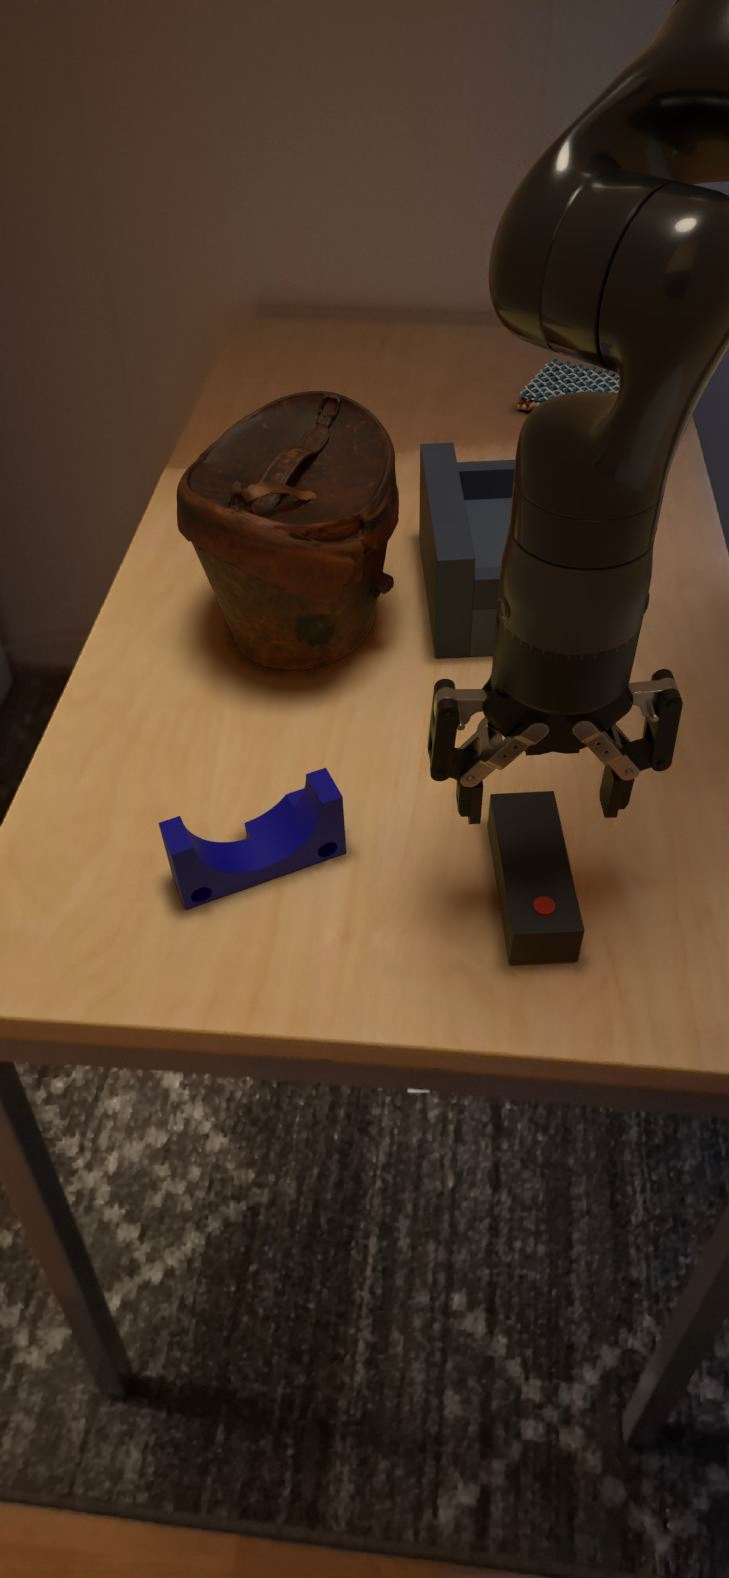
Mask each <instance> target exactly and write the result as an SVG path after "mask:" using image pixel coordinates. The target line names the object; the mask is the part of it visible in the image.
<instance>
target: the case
mask: <svg viewBox="0 0 729 1578" xmlns="http://www.w3.org/2000/svg"><path fill="white" fill-rule="evenodd" d="M399 515H400V493H399V488H398V484H397V474H396V450H395V447H394V443H393V441H392V439H391V436H390V435H389V433H388V431H387V429H386V428H385V426H384V425H383V424H382V422H381V421H380V420H379V419H378V418H377V416H376V415H375V414H374V413H373V412H371V410H369V409H368V408H366V407H365V406H364V405H362V404H361V403H360V402H358V401H356V400H354V399H352V398H350V397H348V396H346V395H343V394H340V393H337V392H333V391H327V390H309V391H308V390H307V391H301V392H294V393H290V394H288V395H284V396H281V397H279V398H277V399H274V400H272V401H270V402H268V403H265V404H264V405H262V407H260V408H257V409H256V410H254V411H253V412H250V413H249V414H247V415H245V416H244V417H243V418H241V419H239V420H238V421H236V422H235V423H234V424H233V425H232V426H230V427H229V428H228V429H226V430H225V431H224V432H223V433H222V434H221V435H220V436H219V438H217V440H215V441H214V442H212V443H211V444H210V445H208V447H206V448H205V450H204V451H203V452H201V453H200V454H199V455H198V458H196V460H194V461H193V463H192V464H190V465H189V466H188V467H187V468H186V470H185V471H184V472H183V473H182V475H181V477H180V480H179V481H178V484H177V488H176V522H177V523H176V525H177V529H178V531H179V533H180V534H181V536H182V537H184V539H186V541H188V542H190V543H191V544H192V546H193V549H194V551H195V554H196V556H197V558H198V560H199V563H200V564H201V567H202V569H203V571H204V573H205V576H206V578H207V580H208V583H209V584H210V587H211V590H212V592H213V594H214V596H215V598H216V601H217V603H218V605H219V608H220V609H221V612H222V614H223V616H224V619H225V621H226V624H227V625H228V628H229V630H230V633H231V636H232V639H233V640H234V642H235V644H236V646H237V647H238V649H239V651H241V653H242V654H243V655H244V656H245V657H247V658H248V659H250V660H251V661H252V662H254V663H256V664H258V665H260V666H264V667H266V668H270V669H275V670H307V669H314V668H319V667H323V666H325V665H329V664H330V663H333V662H335V661H337V660H339V659H341V658H343V657H345V656H347V655H348V654H350V653H351V652H352V651H354V650H355V649H356V648H357V647H358V646H360V644H362V643H363V641H364V640H365V639H366V637H367V636H368V635H369V633H370V631H371V629H372V627H373V623H374V620H375V619H374V618H375V615H376V610H377V604H378V599H379V598H380V596H381V594H382V595H386V594H388V593H389V592H390V591H391V590H392V589H393V588H394V586H395V579H394V577H393V576H392V575H391V574H388V573H386V572H384V568H385V567H384V566H385V562H386V554H387V549H388V543H389V540H390V539H391V538H392V536H393V534H394V532H395V530H396V528H397V526H398V523H399V521H400V520H399V519H400V518H399Z"/></svg>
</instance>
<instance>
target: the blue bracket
mask: <svg viewBox="0 0 729 1578" xmlns="http://www.w3.org/2000/svg"><path fill="white" fill-rule="evenodd" d="M158 827H159V832H160V834H161V838H162V842H163V846H164V849H165V853H166V857H167V861H168V863H169V864H168V865H169V868H170V872H171V876H172V879H173V882H174V884H175V887H176V889H177V892H178V895H179V897H180V899H181V903H182V905H183V907H184V909H185V911H187V910H189V909H193V908H195V907H198V906H201V905H204V904H207V903H209V902H212V901H215V900H218V899H220V898H223V897H226V896H229V895H232V894H234V893H237V892H240V891H243V890H246V889H248V888H252V887H255V886H258V885H260V884H262V883H265V882H268V881H272V880H274V879H276V878H277V879H278V878H279V877H282V876H286V875H288V874H291V873H294V872H297V871H299V870H303V869H305V868H308V867H311V866H313V865H316V864H319V863H323V862H324V861H328V860H330V859H334V858H336V857H340V856H341V855H344V854H347V842H346V841H347V840H346V828H345V827H346V826H345V812H344V797H343V794H342V793H341V791H340V790H339V787H338V786H337V784H336V782H335V780H334V779H333V777H332V776H331V773H330V772H329V771H328V769H327V767H323V768H320V769H318V770H314V771H311V772H308V773H305V784H304V787H303V788H301V789H298V790H295V791H292V792H288V793H286V794H285V795H284V796H283V797H282V798H281V799H280V800H279V801H278V802H277V803H276V804H275V805H274V806H273V807H271V808H270V809H269V810H267V811H265V812H264V813H263V814H261V815H259V816H257V817H255V818H253V819H250V820H248V821H246V822H244V829H245V830H244V831H245V835H246V838H244V839H240V840H235V841H214V840H208V839H205V838H202V837H200V836H197V835H195V834H194V833H193V832H191V831H190V830H189V829H188V828H187V826H185V824H184V821H183V819H182V816H181V815H178V816H175V817H172V818H169V819H166V820H163V821H159V822H158Z"/></svg>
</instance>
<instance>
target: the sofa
mask: <svg viewBox="0 0 729 1578" xmlns="http://www.w3.org/2000/svg"><path fill="white" fill-rule="evenodd" d="M514 468H515V459H500V460H499V459H498V460H477V461H458V460H457V453H456V449H455V444H454V442H433V443H431V442H430V443H429V442H428V443H420V445H419V511H418V514H419V515H418V516H419V519H418V521H419V522H418V523H419V524H418V525H419V527H418V530H419V531H418V534H419V535H418V541H419V547H420V549H419V550H420V555H421V564H422V571H423V579H424V587H425V593H426V602H427V610H428V617H429V624H430V633H431V641H432V649H433V655H434V659H447V658H469V657H470V658H471V657H472V658H473V657H474V658H475V657H491V656H492V657H493V651H494V639H495V628H496V615H497V603H498V592H499V580H500V569H501V561H502V556H503V551H504V548H505V544H506V540H507V536H508V531H509V524H510V514H511V503H512V492H513V481H514Z"/></svg>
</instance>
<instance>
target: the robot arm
mask: <svg viewBox="0 0 729 1578" xmlns="http://www.w3.org/2000/svg"><path fill="white" fill-rule="evenodd" d="M724 182H729V0H675V1H674V3H673V4H672V6H671V8H670V10H669V12H668V13H667V15H666V17H665V18H664V20H663V22H662V24H661V25H660V28H659V29H658V31H657V32H656V34H655V36H654V37H653V39H652V41H650V43H648V45H647V46H646V47H645V48H644V49H643V50H642V51H641V52H640V53H639V54H638V55H637V56H636V57H635V58H634V59H632V60H631V61H630V62H629V63H628V64H627V65H626V66H625V67H624V68H623V69H622V70H621V71H620V72H619V73H618V74H617V75H616V76H615V77H614V78H613V79H612V80H611V82H609V84H608V85H607V86H605V88H604V89H603V90H601V92H600V93H599V94H598V95H597V96H596V97H595V98H594V99H593V100H592V101H591V102H590V104H589V105H588V106H586V108H584V109H583V111H581V113H580V114H579V115H578V116H577V117H576V118H575V119H574V120H573V121H572V122H571V123H570V124H568V126H567V127H566V128H565V129H564V130H563V131H562V132H561V133H559V135H558V136H557V137H556V138H555V140H553V141H552V142H551V143H550V144H549V146H548V147H546V148H545V150H544V151H543V153H542V154H541V155H540V156H539V157H538V158H537V159H536V161H535V162H534V163H533V164H532V165H531V167H530V168H529V169H528V171H527V172H526V174H525V175H524V177H523V178H522V180H521V181H520V182H519V184H518V185H517V187H516V188H515V190H514V191H513V193H512V195H511V196H510V198H509V201H508V202H507V204H506V206H505V208H504V211H503V213H502V215H501V217H500V220H499V222H498V225H497V227H496V231H495V235H494V238H493V240H492V245H491V249H490V254H489V264H488V289H489V297H490V301H491V305H492V308H493V311H494V313H495V315H496V317H497V318H498V321H499V322H500V323H501V324H502V326H503V327H504V328H505V330H506V331H508V332H509V333H510V334H512V335H513V336H515V337H517V339H519V340H522V341H523V342H526V343H528V344H530V345H533V346H536V347H539V348H541V349H544V350H547V351H551V352H553V353H555V354H560V355H562V356H565V357H568V358H571V359H574V360H577V361H580V362H583V363H586V364H589V365H592V366H594V367H598V368H600V369H604V370H606V369H607V370H609V372H610V371H611V372H612V373H615V374H617V375H618V374H619V390H618V393H611V392H576V393H568V394H564V395H560V396H556V397H553V398H551V399H548V400H546V401H544V402H543V403H541V404H539V405H538V406H537V407H535V408H534V409H533V410H530V413H528V414H527V416H526V418H525V420H524V422H523V423H522V426H521V428H520V430H519V434H518V439H517V444H516V449H515V458H514V460H515V468H514V481H513V492H512V503H511V514H510V524H509V531H508V536H507V540H506V544H505V548H504V551H503V556H502V561H501V569H500V580H499V592H498V603H497V615H496V628H495V639H494V651H493V656H492V664H491V674H490V675H489V678H488V680H487V681H486V683H485V684H483V686H482V688H456V684H455V681H454V680H452V679H450V678H441V679H438V680H437V681H436V682H435V683H434V685H433V694H432V700H431V702H432V703H431V711H430V717H429V718H430V720H429V729H428V737H427V746H426V747H427V748H426V749H427V754H428V757H429V774H430V778H431V779H432V780H433V781H435V782H445V781H447V780H448V779H453V780H455V781H456V784H455V785H456V787H455V799H456V806H457V813H458V814H459V817H460V818H467V822H468V825H481V821H482V808H483V797H484V781H483V780H485V779H486V778H488V776H490V774H492V773H493V772H494V771H496V770H499V771H503V770H504V769H505V768H507V766H509V765H510V764H511V763H512V762H513V761H514V760H516V759H517V758H518V757H520V756H521V754H523V752H525V756H527V757H529V756H541V755H545V754H548V753H549V754H551V753H558V754H564V755H569V754H570V755H571V754H573V755H574V754H580V750H582V749H585V748H588V749H589V750H590V751H591V752H592V753H593V755H595V757H597V759H598V760H599V761H600V762H601V763H602V764H603V765H604V768H603V773H602V777H601V781H600V787H599V793H598V795H599V797H598V799H599V803H600V806H601V810H602V814H603V817H604V819H616V818H618V814H619V810H622V811H623V810H625V809H626V808H627V807H628V805H629V804H630V800H631V796H632V792H633V788H634V783H635V779H636V778H637V777H638V776H639V775H640V773H641V772H642V771H644V770H648V769H651V770H652V771H654V772H664V771H666V770H668V769H670V768H671V766H672V765H673V758H674V753H675V748H676V744H677V743H676V742H677V738H678V733H679V727H680V722H681V716H682V711H683V707H684V701H683V698H682V696H681V693H680V691H679V687H678V684H677V682H676V679H675V677H674V674H673V672H672V670H670V669H669V668H661V669H658V670H656V671H655V672H654V673H653V674H652V675H651V679H650V680H645V681H635V682H630V681H631V677H632V673H633V668H634V667H633V666H634V663H635V658H636V652H637V648H638V645H639V639H640V634H641V629H642V625H643V620H644V616H645V614H646V612H647V610H648V608H649V603H650V598H651V597H650V595H651V594H650V588H651V582H652V577H653V566H654V565H653V562H654V559H653V558H654V544H655V541H656V539H655V538H656V535H657V530H658V525H659V520H660V515H661V510H662V507H663V502H664V497H665V491H666V486H667V482H668V477H669V474H670V470H671V466H672V463H673V461H674V459H675V456H676V453H677V451H678V448H679V446H680V444H681V442H682V439H683V436H684V434H685V433H686V430H687V427H688V426H689V424H690V421H691V419H692V417H693V414H694V413H695V410H696V408H697V406H698V404H699V402H700V400H701V398H702V396H703V394H704V392H705V390H706V389H707V386H708V384H709V383H710V381H711V379H712V377H713V375H714V373H715V371H716V370H717V368H718V366H719V365H720V363H721V362H722V360H723V357H725V354H726V352H727V351H728V349H729V195H728V194H727V193H724V192H722V191H720V190H717V189H712V188H709V187H705V186H701V185H698V184H706V183H724ZM633 706H636V707H638V708H639V709H640V712H641V715H642V716H643V717H645V718H644V723H643V729H642V735H641V736H642V737H641V738H638V739H635V740H630V739H629V738H628V736H627V735H626V734H625V733H624V731H623V730H621V728H620V727H619V726H618V724H617V723H618V722H620V721H621V720H622V719H623V718H624V717H625V716H626V715H627V714H628V713H629V712H630V711H631V709H632V707H633ZM476 713H482V714H483V716H484V717H483V718H482V719H481V720H480V721H479V722H478V725H477V728H476V730H475V732H474V733H473V734H471V736H469V738H467V740H465V741H464V742H463V743H462V744H461V745H460V746H459V747H456V739H457V733H458V731H459V732H460V731H464V730H465V729H466V725H467V724H468V723H469V722H470V720H471V718H472V717H473V716H474V715H475V714H476Z"/></svg>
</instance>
